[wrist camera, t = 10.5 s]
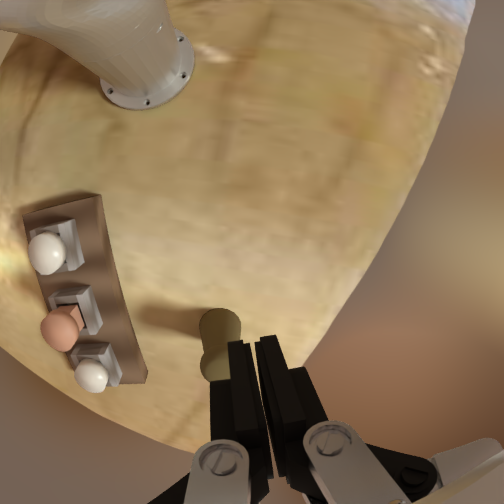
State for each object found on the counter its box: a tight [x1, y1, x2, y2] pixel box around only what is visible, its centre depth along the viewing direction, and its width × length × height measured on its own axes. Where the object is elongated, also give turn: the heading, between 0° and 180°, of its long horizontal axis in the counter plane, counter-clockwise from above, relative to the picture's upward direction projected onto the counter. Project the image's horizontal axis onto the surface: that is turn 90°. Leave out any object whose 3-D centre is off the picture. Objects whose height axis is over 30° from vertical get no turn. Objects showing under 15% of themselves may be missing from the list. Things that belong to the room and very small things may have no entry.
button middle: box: [41, 305, 84, 352], centre depth 30 cm, size 5×5×5 cm
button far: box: [74, 358, 109, 393], centre depth 35 cm, size 5×5×5 cm
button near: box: [28, 231, 66, 275], centre depth 30 cm, size 5×5×5 cm
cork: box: [199, 308, 241, 382], centre depth 37 cm, size 6×6×11 cm
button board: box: [22, 195, 148, 386], centre depth 35 cm, size 28×12×6 cm, turn 6°
